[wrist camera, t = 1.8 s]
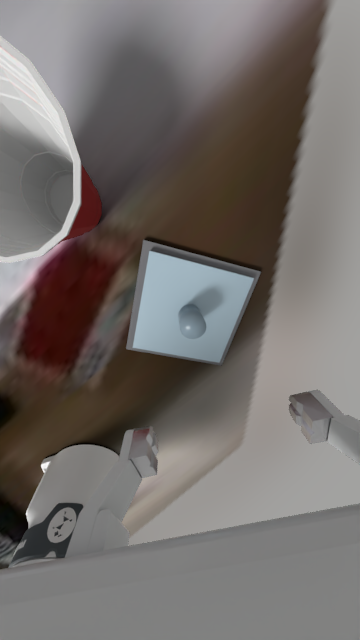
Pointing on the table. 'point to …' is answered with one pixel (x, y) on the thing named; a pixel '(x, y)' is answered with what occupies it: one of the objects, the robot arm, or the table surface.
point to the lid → (188, 307)
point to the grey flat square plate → (194, 258)
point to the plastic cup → (38, 166)
